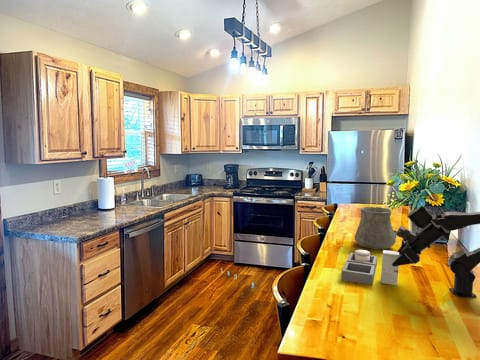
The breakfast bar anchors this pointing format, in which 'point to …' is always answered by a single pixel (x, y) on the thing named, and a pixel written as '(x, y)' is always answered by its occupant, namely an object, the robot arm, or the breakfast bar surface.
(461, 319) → the breakfast bar surface
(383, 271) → the skincare box
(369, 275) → the bottle caddy
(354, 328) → the breakfast bar surface
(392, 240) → the vessel
